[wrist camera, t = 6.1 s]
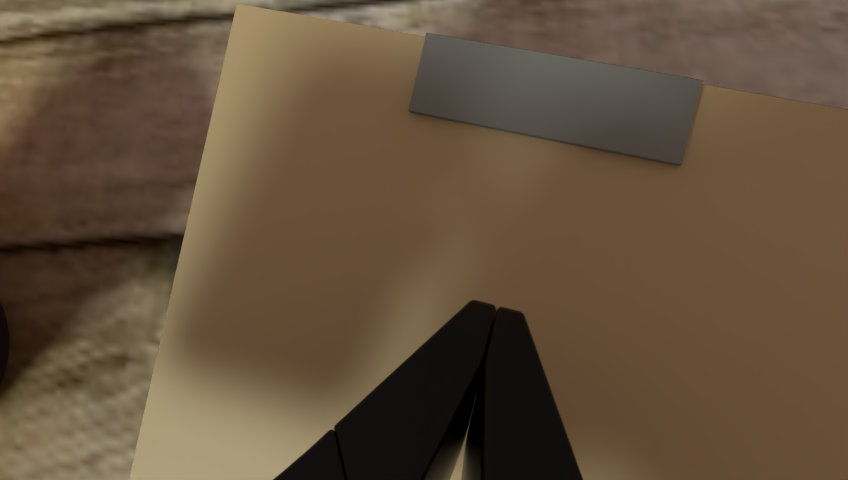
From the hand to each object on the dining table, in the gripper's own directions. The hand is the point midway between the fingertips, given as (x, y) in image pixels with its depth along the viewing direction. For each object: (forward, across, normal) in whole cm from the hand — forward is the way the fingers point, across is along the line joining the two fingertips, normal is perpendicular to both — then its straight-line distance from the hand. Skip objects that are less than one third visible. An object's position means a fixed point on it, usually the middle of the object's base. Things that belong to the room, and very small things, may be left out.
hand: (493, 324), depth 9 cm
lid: (+1, 0, +2) cm, 3 cm away
